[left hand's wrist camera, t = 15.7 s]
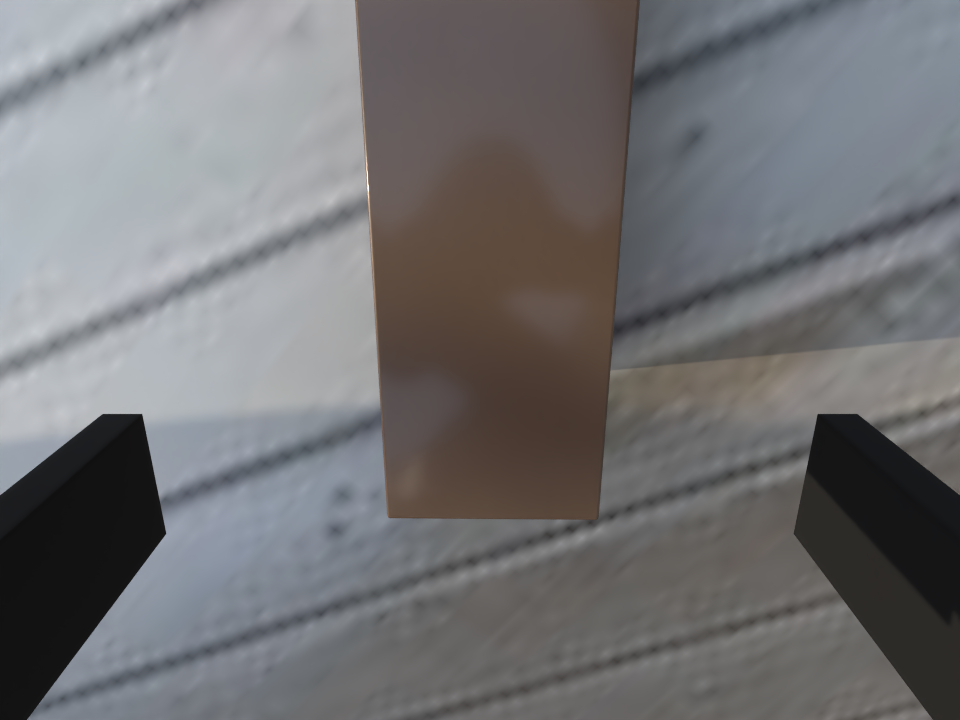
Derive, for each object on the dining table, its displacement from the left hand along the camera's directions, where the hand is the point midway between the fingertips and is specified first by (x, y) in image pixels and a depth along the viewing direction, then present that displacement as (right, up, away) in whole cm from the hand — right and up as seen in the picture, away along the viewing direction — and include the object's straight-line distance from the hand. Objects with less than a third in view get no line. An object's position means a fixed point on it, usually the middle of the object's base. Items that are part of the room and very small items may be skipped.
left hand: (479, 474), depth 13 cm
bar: (0, +16, +7) cm, 18 cm away
